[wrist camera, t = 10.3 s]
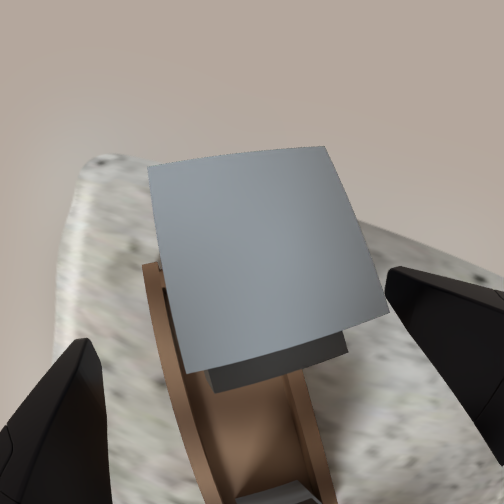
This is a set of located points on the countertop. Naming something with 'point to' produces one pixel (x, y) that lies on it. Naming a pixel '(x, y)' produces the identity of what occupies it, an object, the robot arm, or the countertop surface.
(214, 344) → the slate finger
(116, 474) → the countertop surface
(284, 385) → the walnut rail
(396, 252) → the countertop surface
